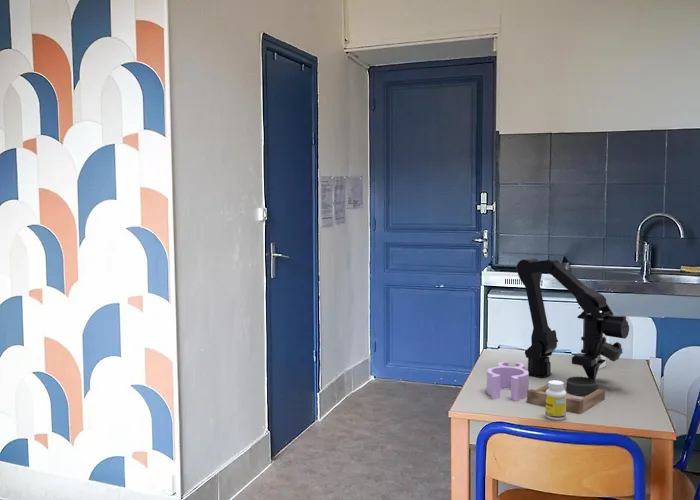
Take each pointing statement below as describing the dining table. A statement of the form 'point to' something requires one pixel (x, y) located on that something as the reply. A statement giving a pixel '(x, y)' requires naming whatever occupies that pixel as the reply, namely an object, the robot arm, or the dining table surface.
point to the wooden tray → (567, 399)
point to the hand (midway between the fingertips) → (592, 382)
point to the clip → (508, 380)
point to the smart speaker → (581, 386)
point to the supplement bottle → (555, 400)
